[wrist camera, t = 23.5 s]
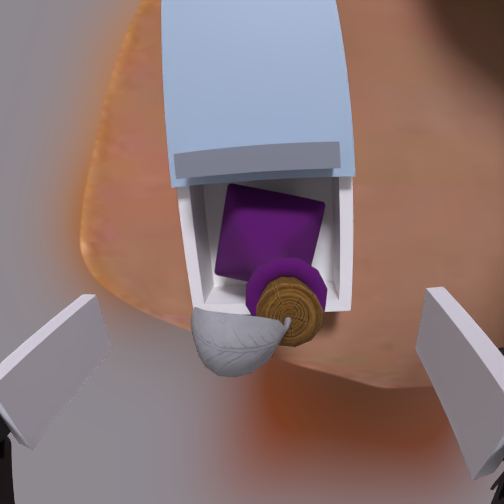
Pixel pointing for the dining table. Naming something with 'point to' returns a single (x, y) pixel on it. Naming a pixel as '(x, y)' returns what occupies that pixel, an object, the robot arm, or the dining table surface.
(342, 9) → the dining table surface
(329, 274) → the storage box
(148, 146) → the dining table surface
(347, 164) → the lid
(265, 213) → the perfume bottle
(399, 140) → the dining table surface
